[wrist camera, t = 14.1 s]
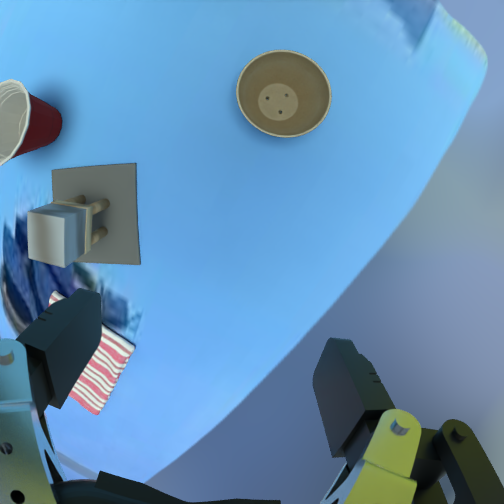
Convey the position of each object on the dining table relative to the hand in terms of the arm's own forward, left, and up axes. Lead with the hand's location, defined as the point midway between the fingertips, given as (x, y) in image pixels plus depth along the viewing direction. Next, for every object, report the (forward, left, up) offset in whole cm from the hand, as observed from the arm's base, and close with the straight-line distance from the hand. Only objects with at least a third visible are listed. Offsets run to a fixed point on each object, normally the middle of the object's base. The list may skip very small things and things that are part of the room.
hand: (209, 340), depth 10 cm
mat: (+2, -20, -30) cm, 36 cm away
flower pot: (-13, +5, -30) cm, 33 cm away
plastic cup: (-12, -28, -30) cm, 43 cm away
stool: (+2, -20, -30) cm, 36 cm away
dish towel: (+28, -28, -31) cm, 51 cm away
